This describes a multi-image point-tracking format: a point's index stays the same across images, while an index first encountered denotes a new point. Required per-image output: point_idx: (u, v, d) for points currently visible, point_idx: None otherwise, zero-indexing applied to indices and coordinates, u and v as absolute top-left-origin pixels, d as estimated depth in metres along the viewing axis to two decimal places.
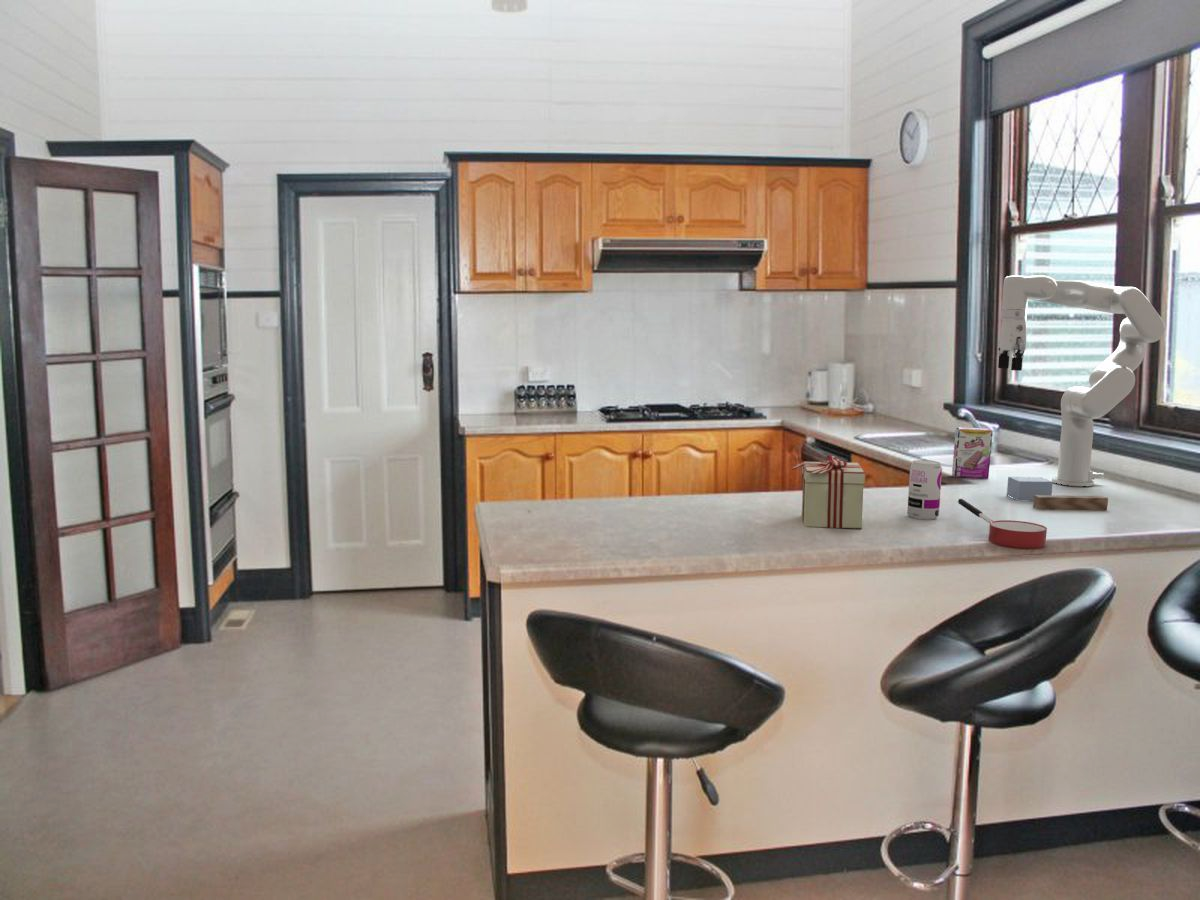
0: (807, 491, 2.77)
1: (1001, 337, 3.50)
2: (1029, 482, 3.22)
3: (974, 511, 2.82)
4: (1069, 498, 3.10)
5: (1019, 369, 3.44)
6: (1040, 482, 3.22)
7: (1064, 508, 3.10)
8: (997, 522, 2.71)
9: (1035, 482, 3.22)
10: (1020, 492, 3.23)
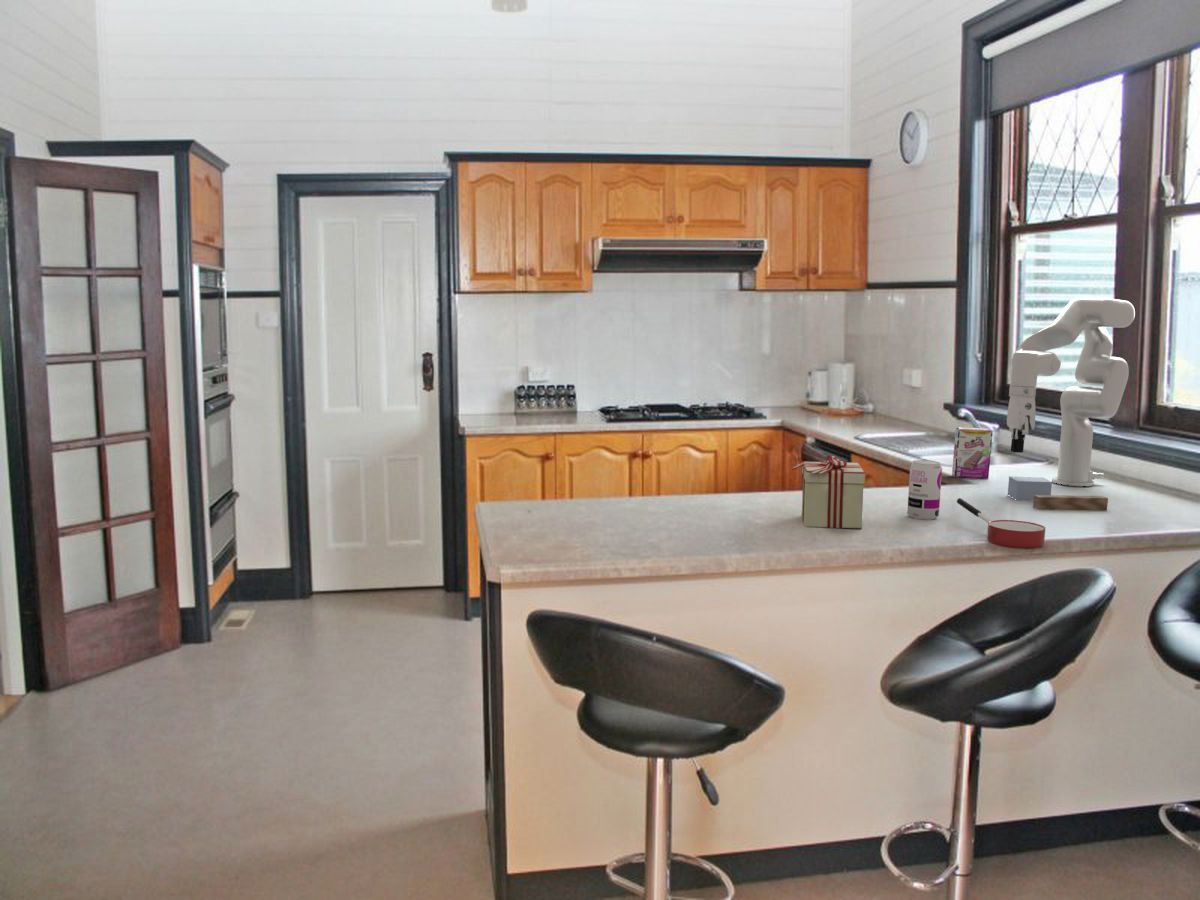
0: (807, 491, 2.77)
1: (1009, 415, 3.35)
2: (1027, 482, 3.22)
3: (973, 511, 2.83)
4: (1069, 498, 3.10)
5: (1020, 451, 3.33)
6: (1039, 482, 3.22)
7: (1064, 508, 3.10)
8: (996, 522, 2.71)
9: (1033, 482, 3.22)
10: (1017, 492, 3.23)
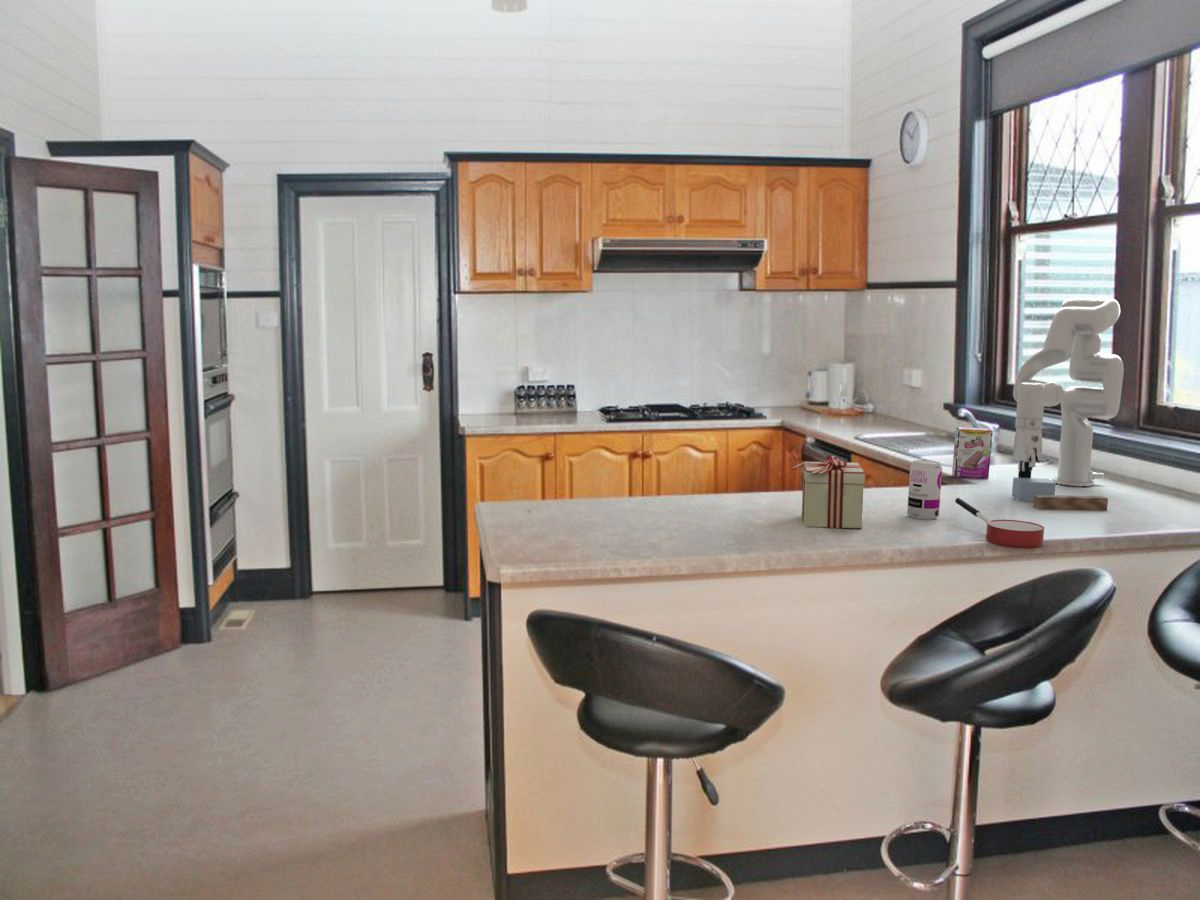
0: (807, 491, 2.77)
1: (1015, 446, 3.31)
2: (1030, 483, 3.20)
3: (971, 510, 2.83)
4: (1069, 498, 3.10)
5: None
6: (1042, 483, 3.20)
7: (1064, 508, 3.10)
8: (994, 521, 2.71)
9: (1037, 483, 3.20)
10: (1020, 492, 3.21)
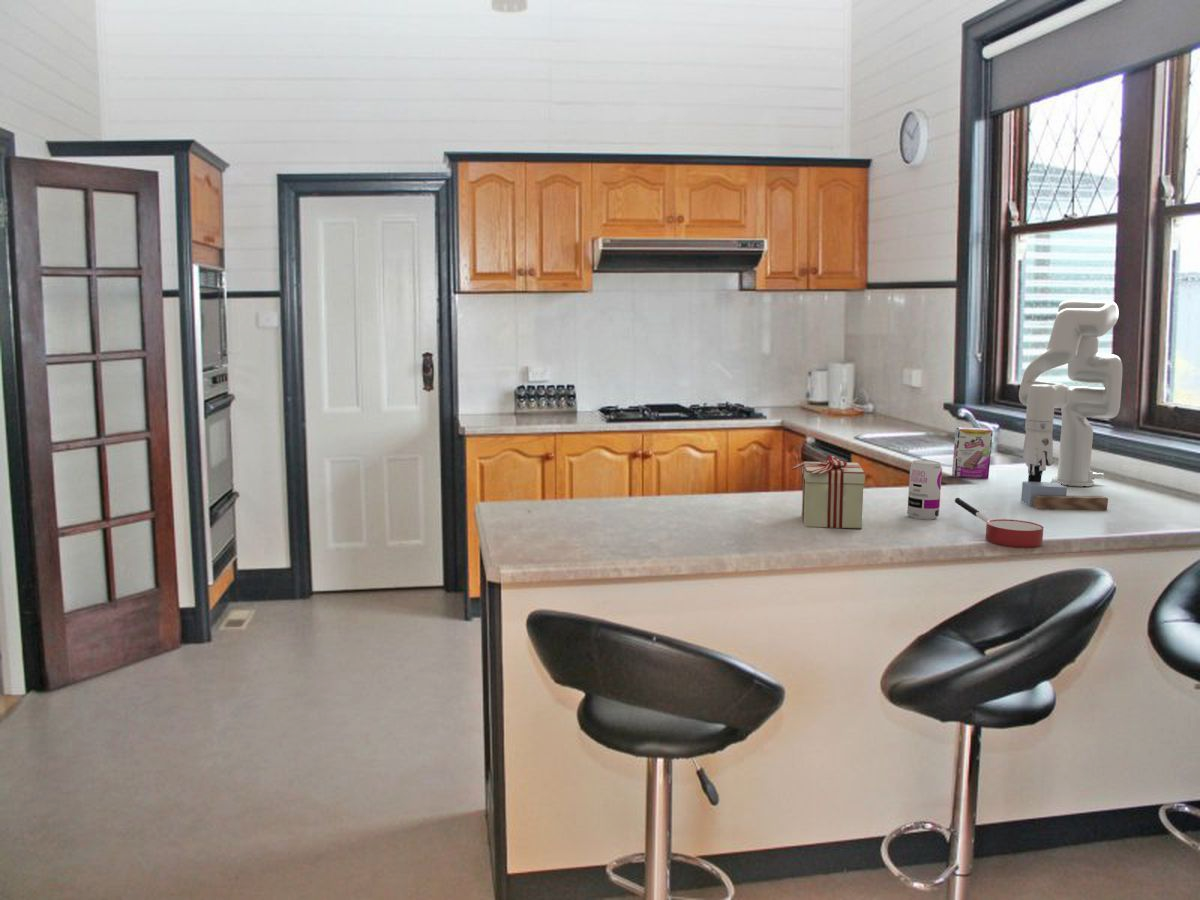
0: (807, 491, 2.77)
1: (1025, 449, 3.24)
2: (1041, 487, 3.13)
3: (971, 510, 2.83)
4: (1069, 498, 3.10)
5: None
6: (1053, 487, 3.13)
7: (1064, 508, 3.10)
8: (994, 521, 2.72)
9: (1048, 487, 3.13)
10: (1031, 497, 3.14)
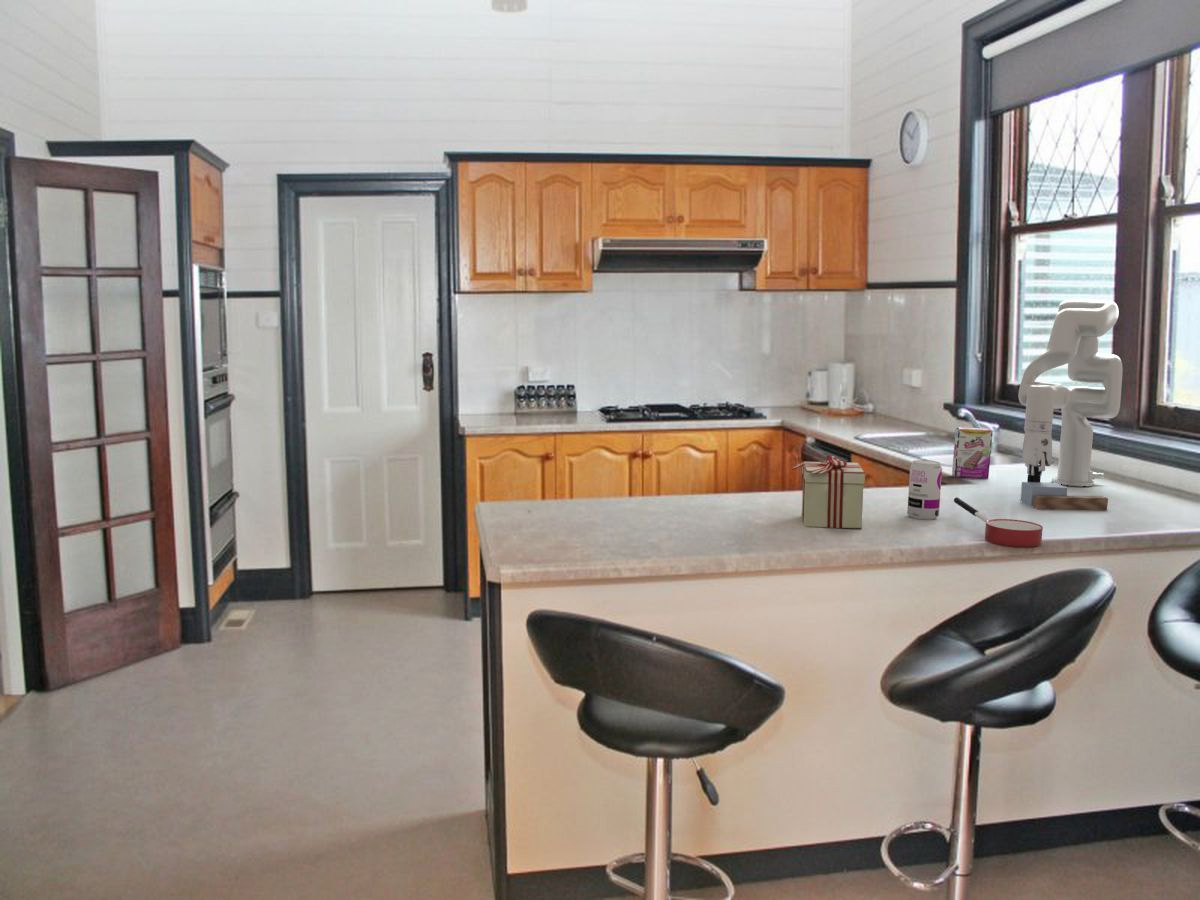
0: (807, 491, 2.77)
1: (1024, 450, 3.25)
2: (1043, 488, 3.13)
3: (970, 510, 2.83)
4: (1069, 498, 3.10)
5: None
6: (1054, 488, 3.13)
7: (1064, 508, 3.10)
8: (993, 521, 2.72)
9: (1049, 488, 3.13)
10: (1033, 498, 3.13)
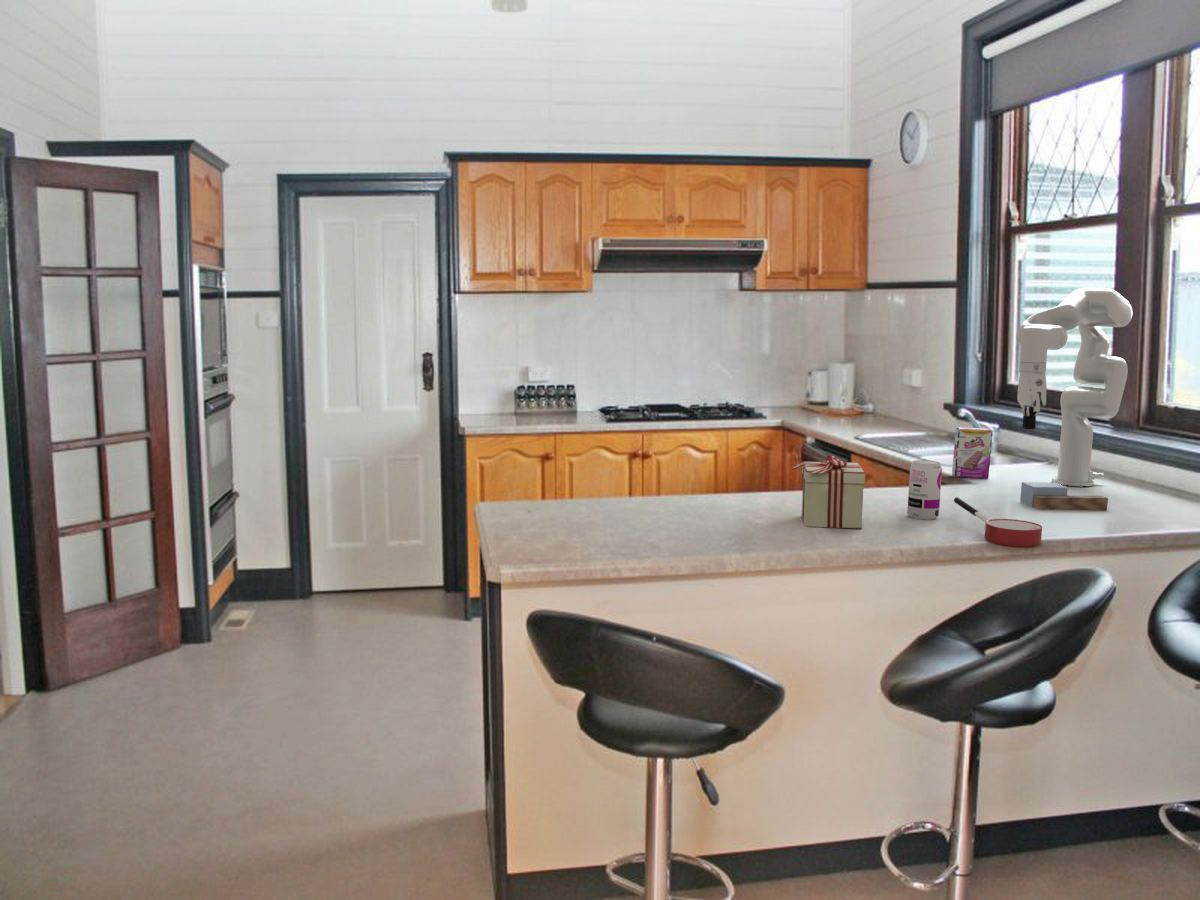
0: (807, 491, 2.77)
1: (1019, 391, 3.30)
2: (1043, 488, 3.13)
3: (970, 510, 2.84)
4: (1069, 498, 3.10)
5: (1032, 428, 3.28)
6: (1055, 488, 3.13)
7: (1064, 508, 3.10)
8: (993, 521, 2.72)
9: (1049, 488, 3.13)
10: (1033, 498, 3.13)
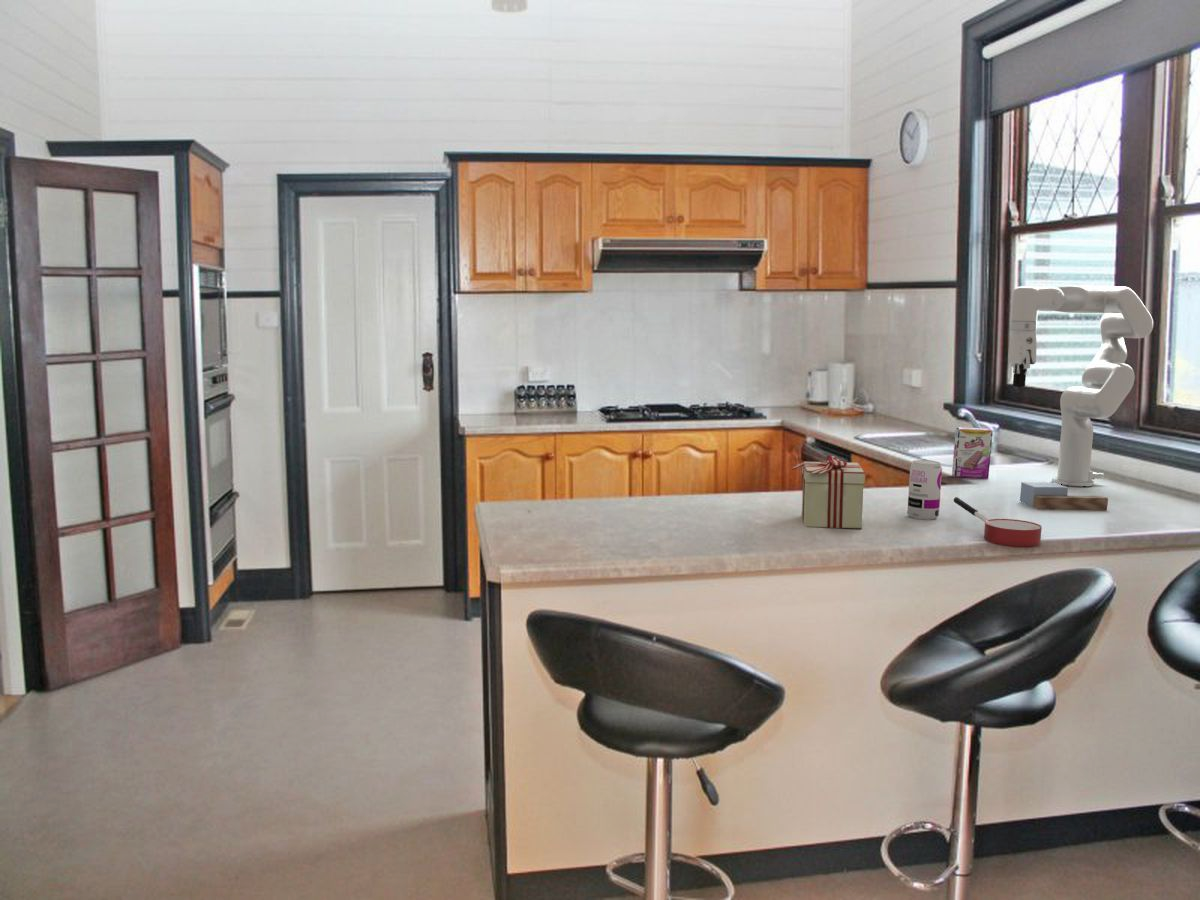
0: (807, 491, 2.77)
1: (1010, 350, 3.40)
2: (1044, 488, 3.13)
3: (969, 510, 2.84)
4: (1069, 498, 3.10)
5: (1022, 385, 3.39)
6: (1055, 488, 3.13)
7: (1064, 508, 3.10)
8: (992, 520, 2.72)
9: (1050, 488, 3.13)
10: None
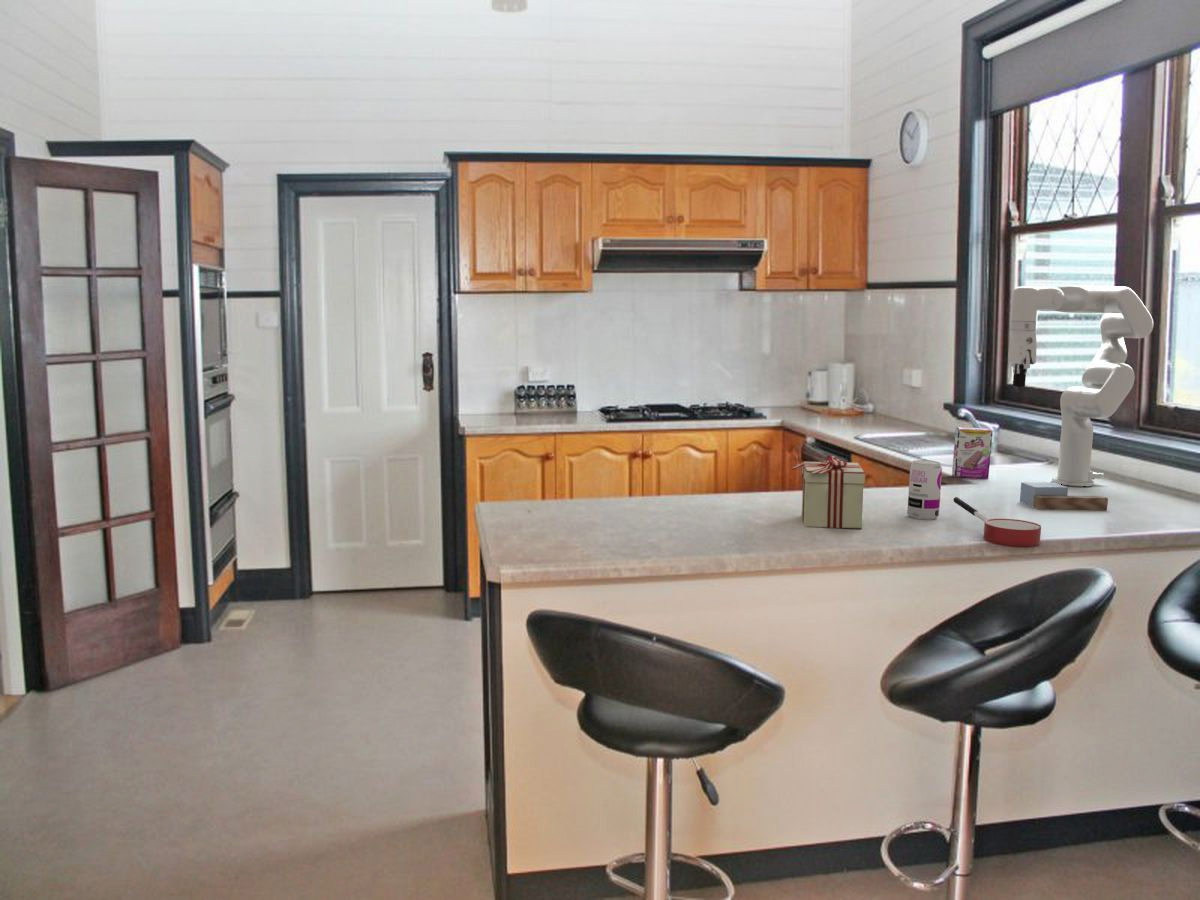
0: (807, 491, 2.77)
1: (1010, 350, 3.40)
2: (1044, 488, 3.13)
3: (969, 509, 2.84)
4: (1069, 498, 3.10)
5: (1022, 385, 3.39)
6: (1055, 488, 3.13)
7: (1064, 508, 3.10)
8: (992, 520, 2.73)
9: (1050, 488, 3.13)
10: None
